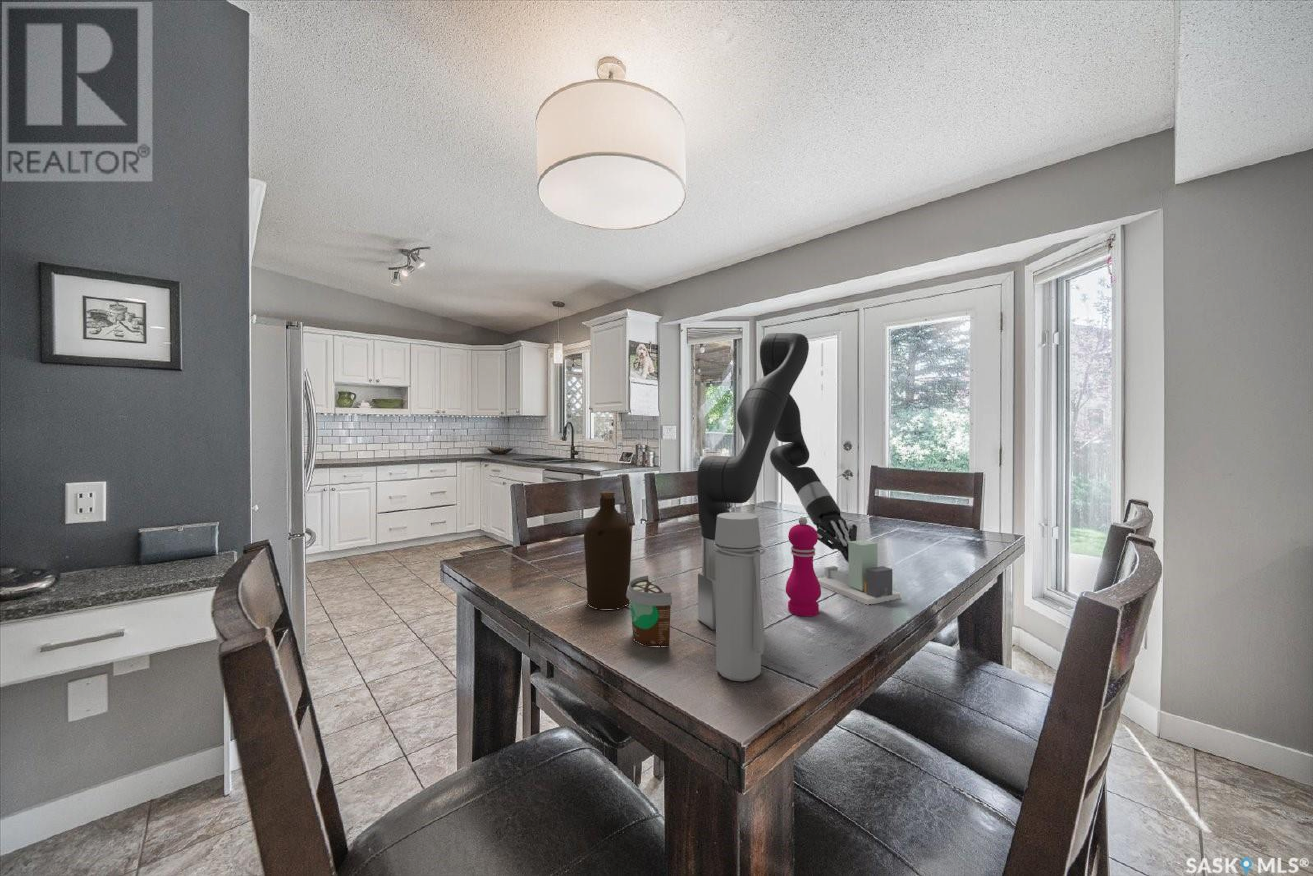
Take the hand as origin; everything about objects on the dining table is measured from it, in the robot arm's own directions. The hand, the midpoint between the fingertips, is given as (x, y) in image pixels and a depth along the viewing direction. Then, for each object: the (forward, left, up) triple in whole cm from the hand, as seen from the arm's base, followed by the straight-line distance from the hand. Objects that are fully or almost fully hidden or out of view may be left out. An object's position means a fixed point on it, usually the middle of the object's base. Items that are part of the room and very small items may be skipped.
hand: (854, 562), depth 119 cm
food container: (-56, -5, -7) cm, 57 cm away
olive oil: (-56, +16, -7) cm, 59 cm away
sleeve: (0, -3, -5) cm, 6 cm away
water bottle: (-47, -24, -7) cm, 53 cm away
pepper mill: (-20, -6, -7) cm, 22 cm away
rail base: (0, 0, -7) cm, 7 cm away
